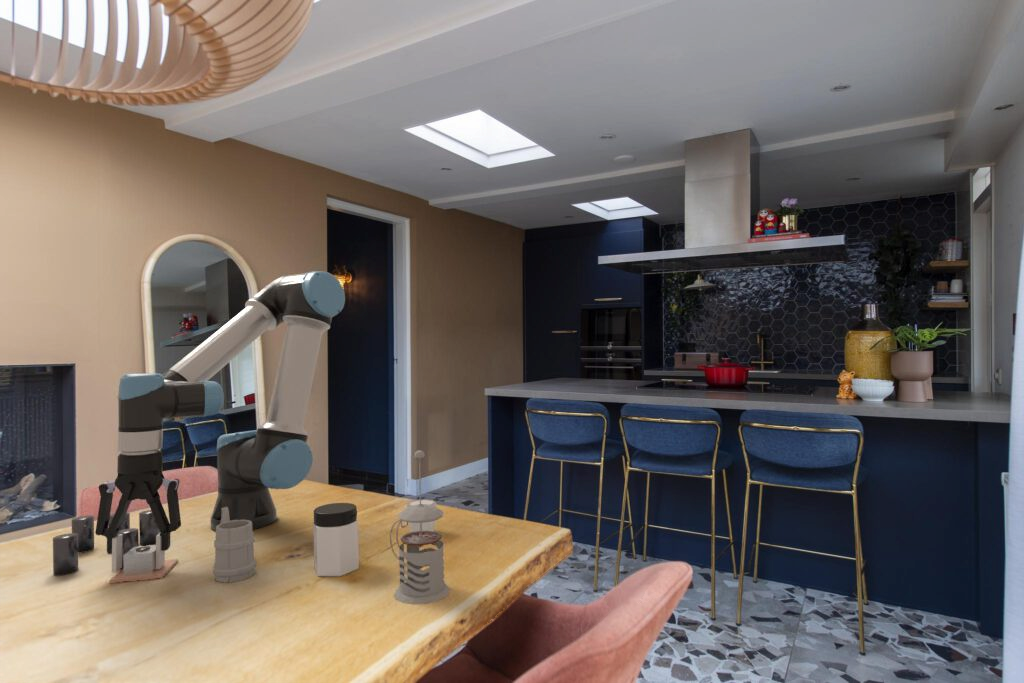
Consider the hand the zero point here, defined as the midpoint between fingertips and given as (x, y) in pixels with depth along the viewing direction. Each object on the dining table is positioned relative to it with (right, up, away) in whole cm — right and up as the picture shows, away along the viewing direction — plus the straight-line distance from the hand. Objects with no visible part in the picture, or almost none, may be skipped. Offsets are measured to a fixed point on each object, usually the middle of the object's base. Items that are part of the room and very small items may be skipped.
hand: (138, 568), depth 116 cm
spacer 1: (-16, -1, +2) cm, 16 cm away
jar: (+39, 0, 0) cm, 39 cm away
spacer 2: (-22, -2, +15) cm, 26 cm away
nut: (+1, 0, 0) cm, 1 cm away
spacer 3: (-15, -1, +17) cm, 22 cm away
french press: (+57, 0, -12) cm, 58 cm away
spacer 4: (-5, -1, +4) cm, 7 cm away
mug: (+19, -1, -1) cm, 19 cm away
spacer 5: (-9, -1, +19) cm, 21 cm away
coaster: (+1, -1, 0) cm, 1 cm away
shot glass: (+53, 0, +21) cm, 57 cm away
